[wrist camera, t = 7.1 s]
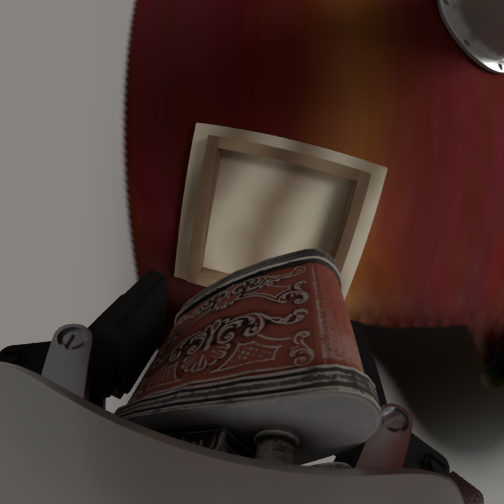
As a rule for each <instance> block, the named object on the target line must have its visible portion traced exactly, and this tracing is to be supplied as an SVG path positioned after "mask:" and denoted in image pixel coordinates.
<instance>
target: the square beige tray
mask: <svg viewBox="0 0 504 504" xmlns="http://www.w3.org/2000/svg"><path fill="white" fill-rule="evenodd" d="M386 172H387V168H386V167H383V166H380V165H377V164H374V163H371V162H368V161H365V160H362V159H359V158H356V157H353V156H349V155H346V154H343V153H340V152H336V151H333V150H329V149H326V148H322V147H318V146H314V145H311V144H307V143H303V142H299V141H295V140H290V139H286V138H282V137H277V136H273V135H268V134H263V133H258V132H253V131H247V130H242V129H236V128H230V127H224V126H217V125H211V124H203V123H196V127H195V132H194V137H193V142H192V148H191V153H190V159H189V165H188V171H187V177H186V183H185V190H184V197H183V204H182V211H181V219H180V227H179V235H178V244H177V254H176V264H175V275H174V276H175V277H178V278H182V279H185V280H186V281H187V282H190V283H194V284H197V285H201V286H205V287H208V286H209V285H211V284H213V283H215V282H217V281H218V280H220V279H222V278H224V277H226V276H228V275H229V274H231V273H233V272H235V271H237V270H240V269H242V268H245V267H248V266H250V265H253V264H255V263H258V262H261V261H263V260H266V259H269V258H272V257H276V256H280V255H284V254H288V253H291V252H295V251H299V250H303V249H313V248H315V249H318V250H321V251H324V252H325V253H327V254H328V255H329V256H331V257H332V258H333V260H334V261H335V263H336V264H337V266H338V268H339V271H340V274H341V278H342V282H343V290H342V295H343V298H344V300H345V297H346V295H347V292H348V290H349V287H350V284H351V282H352V279H353V277H354V274H355V271H356V269H357V266H358V263H359V260H360V257H361V255H362V252H363V249H364V246H365V243H366V240H367V237H368V234H369V231H370V228H371V225H372V221H373V218H374V215H375V212H376V208H377V205H378V202H379V198H380V195H381V191H382V187H383V184H384V180H385V176H386Z"/></svg>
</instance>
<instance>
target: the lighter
mask: <svg viewBox="0 0 504 504" xmlns="http://www.w3.org/2000/svg"><path fill="white" fill-rule="evenodd" d="M342 290H343V282H342V278H341V274H340V271H339V268H338V266H337V264H336V263H335V261H334V260H333V258H332V257H331V256H329V255H328V254H327V253H325V252H324V251H321V250H318V249H315V248H313V249H303V250H299V251H295V252H291V253H288V254H284V255H280V256H276V257H272V258H269V259H266V260H263V261H261V262H258V263H255V264H253V265H250V266H248V267H245V268H242V269H240V270H237V271H235V272H233V273H231V274H229V275H228V276H226V277H224V278H222V279H220V280H218V281H217V282H215V283H213V284H211V285H209V286H208V287H206V288H205V289H203V290H202V291H201V292H199V293H198V294H197V295H195V296H194V297H193V298H191V299H190V300H189V301H187V302H186V303H185V304H184V305H183V307H182V308H181V309H180V311H179V312H178V314H177V315H176V317H175V322H174V325H175V326H174V328H173V329H172V331H171V333H170V334H169V336H168V337H167V339H166V341H165V342H164V344H163V345H162V347H161V349H160V350H159V352H158V354H157V355H156V357H155V359H154V360H153V362H152V363H151V365H150V367H149V368H148V370H147V371H146V373H145V375H144V376H143V378H142V380H141V382H140V383H139V385H138V386H137V388H136V390H135V392H134V393H133V395H132V396H131V398H130V400H129V401H128V403H127V405H124V406H122V407H119V408H118V409H117V410H116V412H115V413H114V414H115V415H117V416H120V417H122V418H124V419H126V420H129V421H131V422H133V423H136V424H138V425H141V426H143V427H146V428H148V429H151V430H153V431H156V432H159V433H161V434H164V435H167V436H170V437H173V438H176V439H179V440H182V441H185V442H188V443H191V444H195V445H198V446H202V447H205V448H209V449H213V450H217V451H221V452H225V453H229V454H233V455H238V456H243V457H248V458H253V459H258V460H264V461H271V462H277V463H284V464H293V465H302V464H305V463H309V462H313V461H316V460H319V459H323V458H326V457H329V456H332V455H335V454H338V453H341V452H344V451H346V450H349V449H352V448H354V447H356V446H358V445H360V444H362V443H364V442H366V441H367V440H368V439H369V438H371V437H372V436H373V435H374V434H375V433H376V432H377V430H378V428H379V426H380V424H381V422H382V415H381V408H380V404H379V399H378V395H377V391H376V387H375V385H374V384H373V382H372V381H371V379H370V378H369V377H368V375H366V374H364V370H363V366H362V362H361V358H360V355H359V351H358V347H357V343H356V339H355V336H354V332H353V329H352V325H351V322H350V318H349V315H348V311H347V308H346V305H345V301H344V298H343V295H342ZM311 466H313V467H329V468H352V467H351V466H350V465H348V464H347V463H342V462H329V463H322V464H316V465H311Z"/></svg>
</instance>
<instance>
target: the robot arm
mask: <svg viewBox="0 0 504 504" xmlns="http://www.w3.org/2000/svg"><path fill="white" fill-rule="evenodd" d="M437 5H438V10H439V13H440V16H441V18H442V20H443V22H444V24H445V26H446V28H447V30H448V31H449V33H450V34H451V36H452V37H453V39H454V40H455V41H456V43H457V44H458V45H459V46H460V47H461V49H462V50H463V51H464V52H465V53H466V54H467V55H468V56H469V57H470V58H471V59H472V60H473V61H474V62H476V63H477V64H478V65H480V66H481V67H483V68H484V69H486V70H488V71H490V72H492V73H496V74H503V73H504V0H437ZM167 292H168V279H167V278H165V275H164V273H160V272H157V271H153V270H150V271H148V272H147V273H146V274H145V275H144V276H143V277H142V278H141V279H140V280H139V281H138V282H137V283H136V284H134V286H132V287H131V288H130V289H129V290H128V291H127V292H126V293H125V294H123V295H121V296H120V297H119V298H118V299H117V300H116V301H115V302H114V303H113V304H112V305H111V306H110V307H109V308H107V310H106V311H104V312H103V313H102V314H101V316H99V317H98V318H97V319H96V320H95V321H94V322H93V323H92V324H91V325H90V326H89V327H88V328H87V327H85V326H83V325H79V324H68V325H64V326H62V327H60V328H59V329H58V330H57V331H56V332H55V334H54V336H53V339H52V341H48V342H40V343H31V344H21V345H12V346H8V347H6V348H4V349H2V350H1V351H0V504H484V498H483V495H482V493H481V492H480V491H479V490H478V489H477V488H475V487H474V486H472V485H471V484H470V483H468V482H467V481H466V480H464V479H463V478H462V477H460V476H459V475H458V474H457V473H455V472H454V471H452V472H451V473H450V472H449V464H448V462H447V460H446V458H445V457H444V456H443V455H441V454H440V453H439V452H437V451H436V450H434V449H433V448H432V447H430V446H429V445H428V444H426V443H425V442H423V441H422V440H421V439H419V438H418V437H417V436H415V435H414V434H413V433H411V431H412V419H411V416H410V415H409V413H408V412H407V411H406V410H405V409H404V408H402V407H401V406H398V405H395V404H387V402H386V398H385V395H384V391H383V387H382V384H381V380H380V377H379V374H378V370H377V367H376V363H375V360H374V358H373V357H372V355H371V352H370V349H369V345H368V342H367V339H366V336H365V333H364V329H363V326H362V324H361V322H358V321H353V320H350V322H351V325H352V329H353V332H354V336H355V339H356V343H357V347H358V351H359V355H360V358H361V362H362V366H363V370H364V374H366V375H368V377H369V378H370V379H371V381H372V382H373V384H374V385H375V387H376V391H377V395H378V399H379V404H380V408H381V415H382V422H381V424H380V426H379V428H378V430H377V432H376V433H375V434H374V435H373V436H372V437H371V438H369V439H368V440H367V441H366V442H364V443H362V444H360V445H358V446H356V447H354V448H352V449H349V450H346V451H344V452H341V453H338V454H335V456H336V457H335V459H334V461H333V462H342V463H347V464H348V465H350V466H351V467H352V468H329V467H313V466H301V465H293V464H284V463H277V462H271V461H264V460H258V459H253V458H248V457H243V456H238V455H233V454H229V453H225V452H221V451H217V450H213V449H209V448H205V447H202V446H198V445H195V444H191V443H188V442H185V441H182V440H179V439H176V438H173V437H170V436H167V435H164V434H161V433H159V432H156V431H153V430H151V429H148V428H146V427H143V426H141V425H138V424H136V423H133V422H131V421H129V420H126V419H124V418H122V417H120V416H117V415H115V414H113V413H111V412H109V411H107V410H105V409H106V408H105V407H106V398H107V397H110V396H111V395H112V396H114V397H116V398H119V399H121V397H122V396H123V394H124V393H126V394H128V393H129V392H130V390H131V389H132V387H133V386H134V384H135V382H136V381H137V379H138V377H139V376H140V374H141V373H142V371H143V369H144V368H145V366H146V365H147V363H148V362H149V360H150V358H151V356H152V355H153V354H154V352H155V351H156V349H157V347H158V346H159V344H160V343H161V341H162V340H163V338H164V335H165V330H166V309H167Z"/></svg>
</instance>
